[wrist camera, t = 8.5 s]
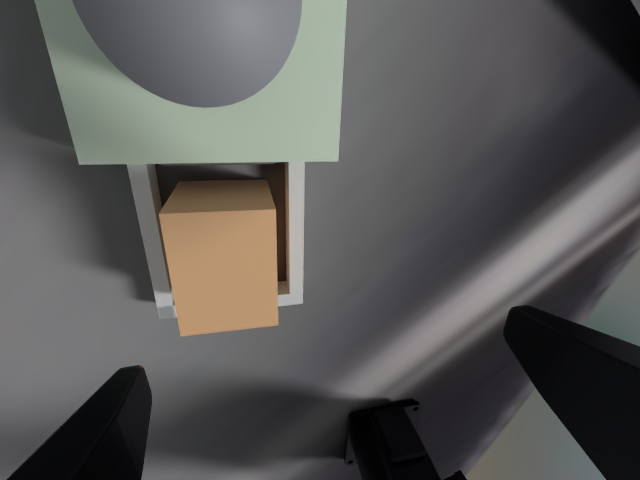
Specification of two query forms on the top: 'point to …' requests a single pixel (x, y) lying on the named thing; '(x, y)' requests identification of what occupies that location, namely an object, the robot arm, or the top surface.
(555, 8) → the top surface
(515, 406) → the top surface
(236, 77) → the pale green framed piece
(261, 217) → the tan parcel box
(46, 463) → the robot arm
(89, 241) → the top surface
